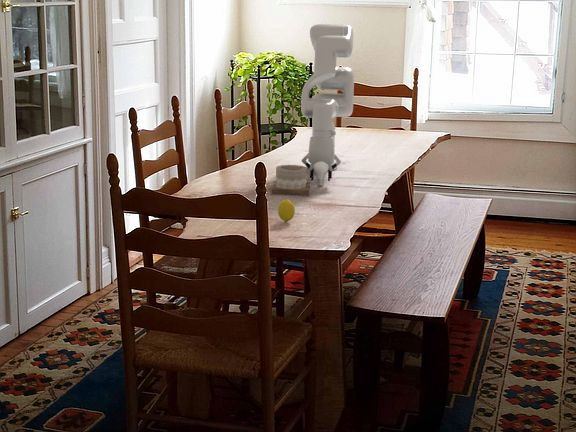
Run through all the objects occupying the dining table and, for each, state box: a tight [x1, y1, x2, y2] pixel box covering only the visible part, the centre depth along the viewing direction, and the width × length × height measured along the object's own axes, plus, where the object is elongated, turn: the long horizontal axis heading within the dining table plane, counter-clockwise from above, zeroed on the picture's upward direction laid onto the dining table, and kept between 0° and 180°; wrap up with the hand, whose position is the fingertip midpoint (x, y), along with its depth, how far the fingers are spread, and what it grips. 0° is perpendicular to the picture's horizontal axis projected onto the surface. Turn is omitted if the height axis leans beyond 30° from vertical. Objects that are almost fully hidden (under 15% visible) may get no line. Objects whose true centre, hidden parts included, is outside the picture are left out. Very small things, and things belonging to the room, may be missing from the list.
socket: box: [270, 164, 311, 197], centre depth 350 cm, size 14×14×9 cm
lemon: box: [277, 198, 296, 223], centre depth 307 cm, size 6×6×8 cm
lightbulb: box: [313, 162, 329, 187], centre depth 359 cm, size 6×6×11 cm
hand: (320, 179), depth 360 cm, fingers closed on lightbulb, 5 cm apart
